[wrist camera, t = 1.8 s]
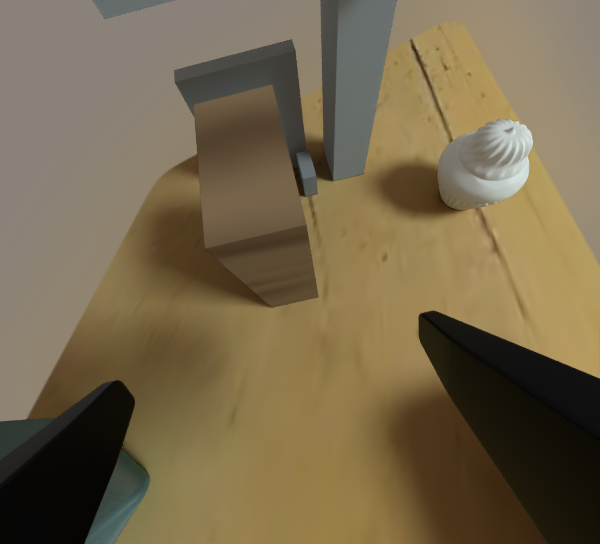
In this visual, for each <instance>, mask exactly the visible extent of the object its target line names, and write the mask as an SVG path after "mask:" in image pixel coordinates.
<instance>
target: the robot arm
mask: <svg viewBox="0 0 600 544" xmlns="http://www.w3.org/2000/svg"><path fill="white" fill-rule="evenodd" d="M419 339H420V342H421V344H422V346H423V348H424V350H425V352H426V354H427V356H428V358H429V359H430V361H431V363H432V365H433V367H434V369H435V371H436V373H437V375H438V376H439V378H440V380H441V382H442V384H443V386H444V388H445V389H446V391H447V393H448V394H449V396H450V398H451V399H452V401H453V402H454V404H455V405H456V407H457V408H458V410H459V411H460V413H461V414H462V416H463V417H464V419H465V420H466V422H467V423H468V425H469V426H470V428H471V429H472V431H473V432H474V434H475V435H476V437H477V438H478V440H479V441H480V443H481V444H482V446H483V447H484V449H485V450H486V452H487V453H488V455H489V456H490V457H491V459H492V460H493V462H494V463H495V465H496V466H497V468H498V469H499V471H500V472H501V474H502V475H503V477H504V478H505V480H506V481H507V483H508V484H509V486H510V487H511V489H512V490H513V492H514V493H515V495H516V496H517V498H518V499H519V501H520V502H521V504H522V505H523V507H524V508H525V510H526V511H527V513H528V514H529V516H530V517H531V519H532V520H533V522H534V523H535V525H536V526H537V528H538V529H539V531H540V532H541V534H542V535H543V537H544V538H545V540H546V541H547V542H548V544H600V378H597V377H595V376H592V375H590V374H587V373H585V372H583V371H580V370H578V369H575V368H573V367H570V366H568V365H566V364H563V363H561V362H558V361H556V360H553V359H551V358H549V357H546V356H544V355H541V354H539V353H536V352H534V351H532V350H529V349H527V348H524V347H522V346H519V345H517V344H515V343H512V342H510V341H507V340H505V339H502V338H500V337H498V336H495V335H493V334H490V333H488V332H485V331H483V330H481V329H478V328H476V327H473V326H471V325H468V324H466V323H464V322H461V321H459V320H456V319H454V318H451V317H449V316H447V315H444V314H442V313H439V312H437V311H429V312H424V313H421V314H420V315H419ZM134 406H135V399H134V397H133V395H132V394H131V393H130V391H129V390H128V389H127V387H126V386H125V385H124V384H123V382H121V381H119V380H115V381H110V382H106V383H103V384H102V385H100V386H99V387H98V388H96V389H95V390H93V391H92V392H91V393H89V394H88V395H87V396H85V397H84V398H83V399H81V400H80V401H79V402H77V403H76V404H75V405H73V406H72V407H71V408H69V409H68V410H66V411H65V412H64V413H62V414H61V415H60V416H58V417H57V418H56V419H54V420H53V421H52V422H50V423H49V424H48V425H46V426H45V427H44V428H42V429H41V430H39V431H38V432H37V433H35V434H34V435H33V436H31V437H30V438H29V439H27V440H26V441H25V442H23V443H22V444H21V445H19V446H18V447H17V448H15V449H14V450H12V451H11V452H10V453H8V454H7V455H6V456H4V457H3V458H2V459H0V544H85V542H86V539H87V537H88V534H89V532H90V529H91V527H92V524H93V522H94V519H95V517H96V514H97V512H98V509H99V507H100V504H101V502H102V499H103V497H104V494H105V492H106V489H107V487H108V484H109V482H110V479H111V477H112V474H113V472H114V469H115V466H116V464H117V461H118V458H119V455H120V452H121V448H122V445H123V442H124V439H125V435H126V432H127V429H128V426H129V422H130V419H131V416H132V413H133V409H134Z"/></svg>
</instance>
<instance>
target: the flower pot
mask: <svg viewBox="0 0 600 544" xmlns="http://www.w3.org/2000/svg"><path fill="white" fill-rule="evenodd" d="M54 419H55V418H52V419H28V420H16V421H2V422H0V459H2V458H3V457H4V456H6V455H7V454H8V453H10V452H11V451H12V450H14V449H15V448H17V447H18V446H19V445H21V444H22V443H23V442H25V441H26V440H27V439H29V438H30V437H31V436H33V435H34V434H35V433H37V432H38V431H39V430H41V429H42V428H44V427H45V426H46V425H48V424H49V423H50V422H52V421H53V420H54ZM149 480H150V477H149V474H148V473H147V472H146V471H145V470H144V469H143V468H142V467H141V466H140V465H139V464H138V463H136V462H135V461H134V460H133V459H132V458H131V457H130V456H129V455H128V454H127V453H126V452H125V451H123V450H122V449H121V452H120V455H119V458H118V461H117V464H116V466H115V469H114V472H113V474H112V477H111V479H110V482H109V484H108V487H107V489H106V492H105V494H104V497H103V499H102V502H101V504H100V507H99V509H98V512H97V514H96V517H95V519H94V522H93V524H92V527H91V529H90V532H89V534H88V537H87V539H86V542H85V544H114V542H115V541H116V539H117V538H118V536H119V534H120V533H121V531H122V530H123V528H124V527H125V525H126V523H127V522H128V520H129V519H130V517H131V515H132V514H133V512H134V511H135V509H136V508H137V506H138V505H139V503H140V502H141V500H142V498H143V497H144V495H145V493H146V491H147V489H148V486H149Z"/></svg>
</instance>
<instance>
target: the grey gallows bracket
mask: <svg viewBox="0 0 600 544" xmlns="http://www.w3.org/2000/svg"><path fill="white" fill-rule="evenodd" d="M170 1H174V0H93V2H94V3H95V5H96V6H97V8H98V9H99V11H100V13H101V14H102V15H103V17H104V19H107V18H111V17H115V16H118V15H122V14H126V13H130V12H133V11H137V10H141V9H144V8H148V7H152V6H155V5H159V4H163V3H166V2H170ZM396 2H397V0H321V44H322V90H323V136H324V153H325V156H326V159H327V162H328V166H329V169H330V172H331V175H332V179H333V181H336V180H340V179H344V178H348V177H353V176H357V175H361V174H364V169H365V164H366V158H367V153H368V148H369V143H370V138H371V132H372V127H373V122H374V117H375V111H376V106H377V101H378V96H379V91H380V85H381V80H382V75H383V70H384V65H385V59H386V54H387V48H388V44H389V39H390V33H391V28H392V23H393V18H394V12H395V7H396ZM174 74H175V83H176V85H177V87H178V89H179V91H180V92H181V94H182V96H183V98H184V100H185V101H186V103H187V105H188V107H189V109H190V110H191V112H192V114H193V115H194V104H198V103H202V102H206V101H210V100H214V99H218V98H222V97H225V96H229V95H233V94H237V93H241V92H245V91H249V90H253V89H256V88H260V87H264V86H268V85H273V89H274V93H275V98H276V102H277V106H278V110H279V114H280V118H281V122H282V126H283V131H284V135H285V139H286V143H287V147H288V151H289V155H290V159H291V163H292V168H293V169H295V168H299V173H300V177H301V181H302V185H303V189H304V193H305V197H306V196H310V195H315V194H318V193H317V178H316V173H315V169H314V166H313V162H312V159H311V155H310V151H309V150H307V151H306V145H305V135H304V126H303V117H302V107H301V98H300V89H299V79H298V70H297V61H296V51H295V48H294V45H293V41H292V40H287V41H284V42H280V43H276V44H272V45H269V46H264V47H261V48H257V49H253V50H249V51H246V52H242V53H238V54H234V55H231V56H226V57H223V58H219V59H215V60H211V61H207V62H203V63H200V64H196V65H192V66H188V67H185V68H181V69H177V70H174ZM194 117H195V116H194Z"/></svg>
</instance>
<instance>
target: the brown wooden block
mask: <svg viewBox="0 0 600 544" xmlns="http://www.w3.org/2000/svg"><path fill="white" fill-rule="evenodd" d="M194 116H195V129H196V142H197V155H198V168H199V181H200V194H201V207H202V220H203V233H204V246H205V249H206V250H207V251H208V252H209V253H210V254H211V255H212V256H214V257H215V258H216V259H217V260H218V261H219V262H220V263H222V264H223V265H224V266H225V267H226V268H227V269H228V270H230V271H231V272H232V273H233V274H234V275H235V276H236V277H237V278H239V279H240V280H241V281H242V282H243V283H244V284H245V285H247V286H248V287H249V288H250V289H251V290H252V291H253V292H255V293H256V294H257V295H258V296H259V297H260V298H261V299H263V300H264V301H265V302H266V303H267V304H268V305H269V306H270V307H272V308H273V307H277V306H282V305H286V304H290V303H295V302H299V301H304V300H308V299H313V298H317V297H318V291H317V285H316V279H315V273H314V267H313V261H312V255H311V249H310V243H309V237H308V231H307V225H306V221H305V217H304V213H303V209H302V205H301V200H300V196H299V192H298V188H297V184H296V180H295V176H294V172H293V168H292V163H291V159H290V155H289V151H288V147H287V143H286V139H285V135H284V131H283V126H282V122H281V118H280V114H279V110H278V106H277V102H276V98H275V93H274V89H273V85H268V86H264V87H260V88H256V89H253V90H249V91H245V92H241V93H237V94H233V95H229V96H225V97H222V98H218V99H214V100H210V101H206V102H202V103H198V104H194Z"/></svg>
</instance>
